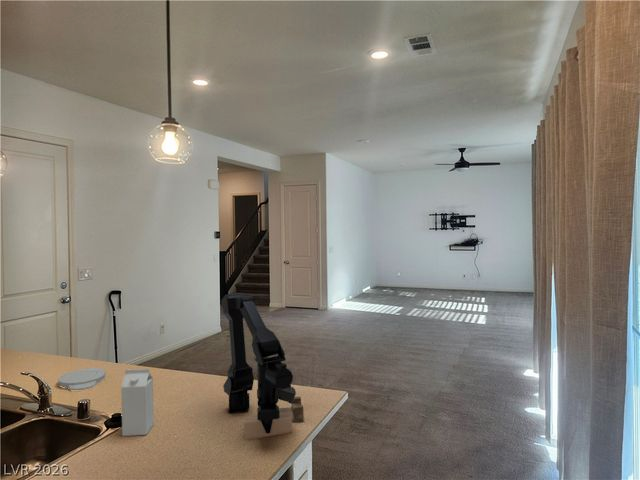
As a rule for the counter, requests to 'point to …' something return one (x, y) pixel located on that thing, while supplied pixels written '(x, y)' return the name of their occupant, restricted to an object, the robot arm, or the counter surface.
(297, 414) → the bracket
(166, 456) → the counter surface
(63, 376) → the lid
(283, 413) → the clay bar
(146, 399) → the milk carton
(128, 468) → the counter surface
